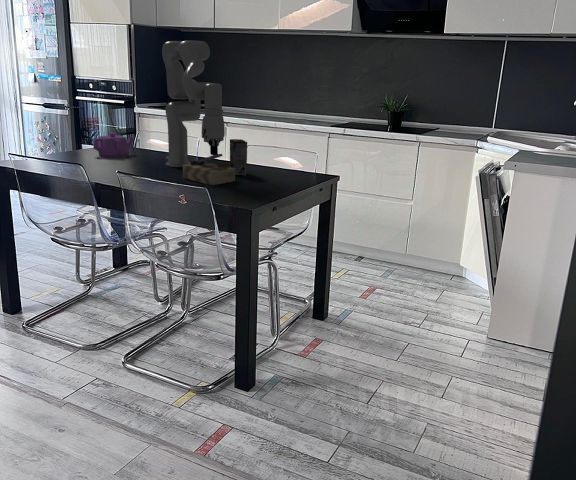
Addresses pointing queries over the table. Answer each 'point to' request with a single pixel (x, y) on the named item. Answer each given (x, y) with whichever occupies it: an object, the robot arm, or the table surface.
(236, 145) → the coffee box
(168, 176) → the table surface
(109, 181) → the table surface
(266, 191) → the table surface
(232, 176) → the block
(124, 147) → the teakettle
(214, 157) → the bar
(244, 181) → the table surface
